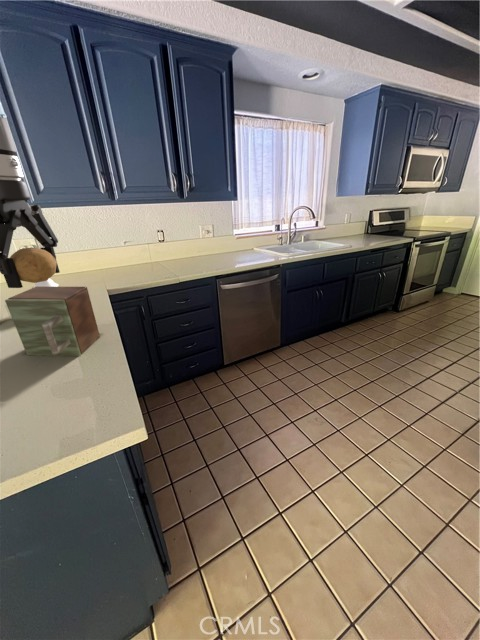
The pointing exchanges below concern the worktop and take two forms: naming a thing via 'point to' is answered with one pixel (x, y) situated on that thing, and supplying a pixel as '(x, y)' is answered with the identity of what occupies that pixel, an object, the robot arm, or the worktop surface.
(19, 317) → the cupboard door
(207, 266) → the worktop surface
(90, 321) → the cupboard
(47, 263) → the potato
